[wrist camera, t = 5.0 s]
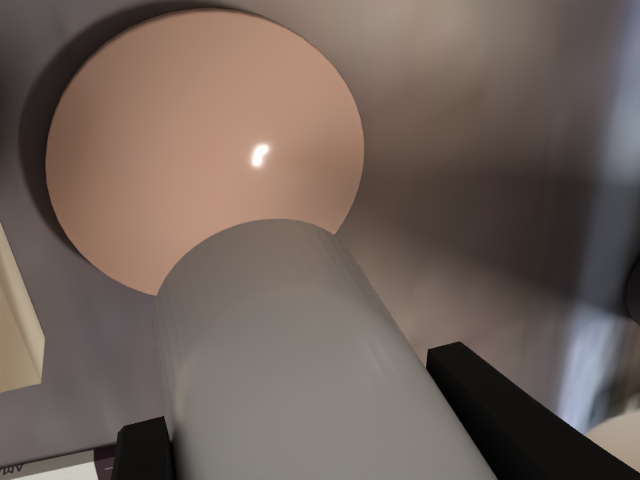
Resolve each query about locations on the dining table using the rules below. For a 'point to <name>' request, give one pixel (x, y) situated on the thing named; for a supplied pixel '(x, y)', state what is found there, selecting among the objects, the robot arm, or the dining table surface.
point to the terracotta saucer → (198, 140)
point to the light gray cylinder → (295, 367)
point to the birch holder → (17, 327)
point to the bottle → (634, 294)
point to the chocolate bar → (66, 467)
